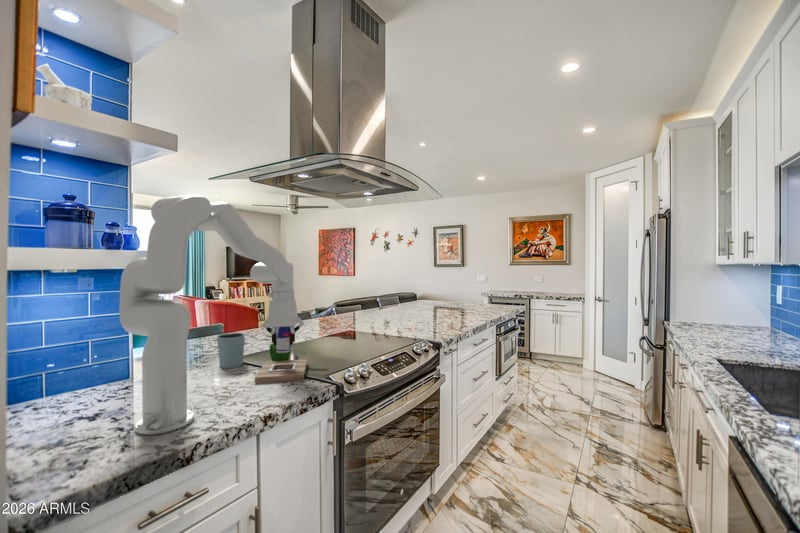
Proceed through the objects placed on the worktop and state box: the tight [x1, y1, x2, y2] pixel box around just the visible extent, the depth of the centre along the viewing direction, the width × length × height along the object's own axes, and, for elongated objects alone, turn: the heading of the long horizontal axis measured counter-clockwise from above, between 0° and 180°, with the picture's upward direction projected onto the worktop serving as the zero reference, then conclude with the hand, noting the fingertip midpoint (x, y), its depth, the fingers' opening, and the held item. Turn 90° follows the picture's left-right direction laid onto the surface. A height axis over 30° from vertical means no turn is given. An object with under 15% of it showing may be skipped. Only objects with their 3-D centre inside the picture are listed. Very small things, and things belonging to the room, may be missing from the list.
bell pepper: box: [269, 343, 292, 361], centre depth 147 cm, size 8×8×10 cm
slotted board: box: [254, 359, 308, 384], centre depth 133 cm, size 20×16×2 cm
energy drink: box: [275, 327, 292, 353], centre depth 133 cm, size 5×5×12 cm
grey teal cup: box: [216, 332, 245, 369], centre depth 144 cm, size 10×10×12 cm
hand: (283, 343), depth 133 cm, fingers closed on energy drink, 5 cm apart
